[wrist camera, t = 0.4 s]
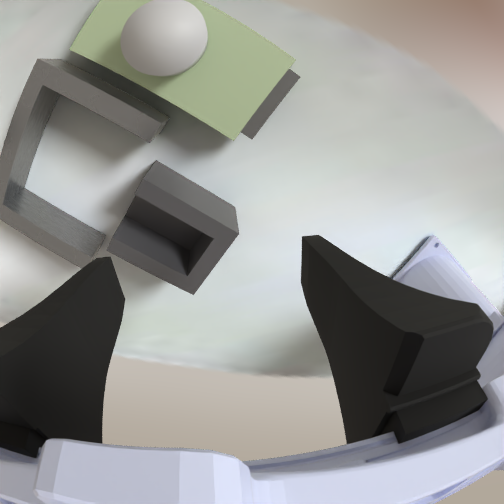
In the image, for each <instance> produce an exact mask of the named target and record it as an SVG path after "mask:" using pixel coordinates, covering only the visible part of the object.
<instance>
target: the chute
mask: <svg viewBox="0 0 504 504" xmlns="http://www.w3.org/2000/svg"><path fill="white" fill-rule="evenodd" d="M135 195H136V196H135V198H134V200H133V202H132V204H131V206H130V207H129V209H128V211H127V213H126V215H125V217H124V219H123V220H122V222H121V224H120V225H119V227H118V229H117V231H116V232H115V234H114V236H113V238H112V240H111V242H110V244H109V246H108V248H107V251H109V252H110V253H112V254H114V255H116V256H118V257H120V258H122V259H124V260H125V261H127V262H129V263H131V264H133V265H135V266H137V267H139V268H141V269H143V270H145V271H147V272H148V273H150V274H152V275H154V276H156V277H158V278H160V279H162V280H164V281H166V282H168V283H170V284H172V285H174V286H176V287H178V288H180V289H182V290H184V291H187V292H189V293H191V294H193V295H194V294H195V292H196V291H197V290H198V288H199V287H200V286H201V284H202V283H203V281H204V280H205V279H206V277H207V276H208V275H209V273H210V272H211V271H212V269H213V268H214V267H215V265H216V264H217V263H218V261H219V260H220V259H221V257H222V256H223V255H224V253H225V252H226V251H227V249H228V248H229V247H230V245H231V244H232V243H233V241H234V240H235V239H236V237H237V236H238V235H239V229H238V223H237V216H236V209H235V207H234V206H233V205H231V204H229V203H228V202H226V201H224V200H223V199H221V198H219V197H218V196H216V195H214V194H213V193H211V192H209V191H208V190H206V189H204V188H203V187H201V186H199V185H197V184H196V183H194V182H192V181H191V180H189V179H187V178H186V177H184V176H182V175H180V174H179V173H177V172H175V171H174V170H172V169H170V168H168V167H167V166H165V165H163V164H162V163H160V162H158V161H155V163H154V164H153V165H152V167H151V168H150V170H149V171H148V172H147V174H146V175H145V177H144V178H143V180H142V181H141V183H140V185H139V187H138V189H137V190H136V192H135Z"/></svg>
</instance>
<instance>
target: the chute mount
mask: <svg viewBox="0 0 504 504" xmlns="http://www.w3.org/2000/svg"><path fill="white" fill-rule="evenodd" d="M60 94H61V95H63V96H65V97H67V98H69V99H71V100H73V101H75V102H77V103H78V104H80V105H82V106H84V107H86V108H88V109H90V110H91V111H93V112H95V113H97V114H99V115H101V116H102V117H104V118H106V119H108V120H110V121H112V122H113V123H115V124H117V125H119V126H121V127H122V128H124V129H126V130H128V131H129V132H131V133H133V134H135V135H137V136H138V137H140V138H142V139H144V140H145V141H147V142H149V143H150V142H151V141H152V140H153V139H155V138H156V137H157V136H158V135H159V134H160V132H161V131H162V129H163V128H164V126H165V124H166V123H167V121H168V120H169V118H170V117H169V116H167V115H165V114H163V113H162V112H160V111H158V110H157V109H155V108H153V107H151V106H149V105H148V104H146V103H144V102H142V101H141V100H139V99H137V98H135V97H133V96H131V95H130V94H128V93H126V92H124V91H122V90H120V89H118V88H117V87H115V86H113V85H111V84H109V83H107V82H105V81H103V80H101V79H99V78H97V77H96V76H94V75H92V74H90V73H88V72H86V71H84V70H82V69H80V68H78V67H76V66H73V65H71V64H69V63H67V62H65V61H63V60H61V59H37V61H36V63H35V65H34V67H33V69H32V72H31V74H30V76H29V78H28V80H27V83H26V85H25V87H24V90H23V92H22V95H21V97H20V100H19V102H18V105H17V107H16V110H15V113H14V115H13V118H12V121H11V124H10V127H9V130H8V133H7V136H6V139H5V142H4V146H3V149H2V153H1V156H0V219H1V220H2V221H4V222H5V223H7V224H8V225H10V226H12V227H13V228H15V229H16V230H18V231H19V232H21V233H23V234H24V235H26V236H27V237H29V238H31V239H32V240H34V241H36V242H37V243H39V244H41V245H42V246H44V247H46V248H47V249H49V250H51V251H52V252H54V253H56V254H57V255H59V256H61V257H63V258H64V259H66V260H68V261H70V262H71V263H73V264H75V265H77V266H79V267H80V268H83V267H85V266H86V265H87V264H89V263H90V262H92V261H93V259H94V257H95V255H96V254H97V252H98V250H99V249H100V247H101V244H102V242H103V240H104V238H105V235H104V234H102V233H100V232H99V231H97V230H95V229H93V228H91V227H90V226H88V225H86V224H84V223H83V222H81V221H79V220H77V219H76V218H74V217H72V216H70V215H69V214H67V213H65V212H64V211H62V210H60V209H58V208H57V207H55V206H53V205H52V204H50V203H48V202H47V201H45V200H43V199H42V198H40V197H38V196H37V195H35V194H33V193H32V192H30V191H28V190H27V189H25V188H24V187H25V184H26V180H27V177H28V174H29V171H30V168H31V165H32V162H33V159H34V156H35V153H36V150H37V147H38V145H39V142H40V139H41V137H42V134H43V132H44V129H45V127H46V124H47V122H48V119H49V117H50V115H51V112H52V110H53V108H54V105H55V103H56V101H57V99H58V97H59V95H60Z"/></svg>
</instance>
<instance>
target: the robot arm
mask: <svg viewBox="0 0 504 504" xmlns="http://www.w3.org/2000/svg"><path fill="white" fill-rule="evenodd" d="M301 284H302V288H303V292H304V296H305V300H306V303H307V306H308V309H309V311H310V314H311V316H312V318H313V321H314V323H315V326H316V328H317V331H318V333H319V335H320V338H321V340H322V343H323V345H324V348H325V350H326V353H327V356H328V359H329V363H330V367H331V370H332V374H333V378H334V382H335V386H336V390H337V395H338V399H339V403H340V408H341V413H342V418H343V423H344V429H345V435H346V440H347V445H342V446H338V447H334V448H329V449H324V450H319V451H314V452H309V453H303V454H297V455H291V456H285V457H277V458H270V459H261V460H252V461H240V460H239V459H237V458H236V457H235V456H233V455H229V454H225V453H221V452H217V451H213V450H204V449H189V448H156V447H134V446H121V445H109V444H102V416H103V400H104V391H105V383H106V376H107V372H108V367H109V363H110V360H111V356H112V353H113V349H114V346H115V342H116V339H117V336H118V332H119V329H120V325H121V322H122V316H123V310H124V303H125V298H124V295H123V292H122V289H121V287H120V284H119V281H118V278H117V275H116V272H115V269H114V266H113V263H112V260H111V257H103V258H96V259H95V260H93V261H92V262H90V263H89V264H87V265H86V266H85V267H83V268H82V269H81V270H80V271H78V272H77V273H76V274H75V275H74V276H72V277H71V278H70V279H69V280H68V281H66V282H65V283H64V284H63V285H62V286H60V287H59V288H58V289H57V290H55V291H54V292H53V293H52V294H50V295H49V296H48V297H47V298H45V299H44V300H43V301H41V302H40V303H39V304H37V305H36V306H35V307H33V308H32V309H30V310H29V311H27V312H26V313H24V314H23V315H21V316H20V317H18V318H16V319H15V320H13V321H11V322H9V323H8V324H6V325H4V326H3V327H1V328H0V504H434V503H436V502H438V501H440V500H442V499H444V498H446V497H448V496H450V495H452V494H454V493H455V492H457V491H459V490H461V489H463V488H464V487H466V486H468V485H470V484H472V483H473V482H475V481H477V480H478V479H480V478H482V477H483V476H485V475H486V474H488V473H490V472H491V471H493V470H504V316H503V315H501V313H500V312H499V311H498V310H497V309H496V308H495V306H494V305H493V304H492V303H491V302H490V301H489V300H488V298H487V297H486V296H485V295H484V294H483V293H482V292H481V291H480V290H479V288H478V287H477V286H476V285H475V284H474V283H473V282H472V279H471V277H470V276H469V275H468V274H467V272H466V271H465V270H464V269H463V267H462V266H461V265H460V264H459V262H458V261H457V260H456V259H455V258H454V256H453V255H452V254H451V253H450V252H449V251H448V249H447V248H446V247H445V246H444V245H443V244H442V242H441V241H440V240H439V239H438V238H437V237H436V236H435V235H432V236H430V237H429V238H428V240H427V241H426V242H425V243H424V244H423V245H422V247H421V248H420V249H419V250H418V251H417V252H416V253H415V255H414V256H413V257H412V258H411V259H410V260H409V261H408V262H407V263H406V265H405V266H404V267H403V268H402V269H401V270H400V271H399V272H398V273H397V274H396V275H395V277H394V278H393V279H391V278H389V277H387V276H385V275H383V274H381V273H379V272H377V271H375V270H373V269H371V268H370V267H368V266H366V265H364V264H363V263H361V262H359V261H358V260H356V259H354V258H353V257H351V256H350V255H348V254H347V253H345V252H344V251H342V250H341V249H339V248H338V247H336V246H335V245H333V244H332V243H330V242H329V241H327V240H326V239H324V238H323V237H321V236H319V235H313V236H303V237H302V266H301Z"/></svg>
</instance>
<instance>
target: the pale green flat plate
mask: <svg viewBox="0 0 504 504" xmlns="http://www.w3.org/2000/svg"><path fill="white" fill-rule="evenodd" d="M69 50H71V51H73V52H75V53H78V54H80V55H82V56H84V57H86V58H88V59H90V60H92V61H94V62H96V63H98V64H100V65H102V66H104V67H106V68H108V69H110V70H112V71H114V72H116V73H118V74H120V75H122V76H124V77H125V78H127V79H129V80H131V81H133V82H135V83H137V84H139V85H140V86H142V87H144V88H146V89H148V90H149V91H151V92H153V93H155V94H157V95H158V96H160V97H162V98H164V99H165V100H167V101H169V102H171V103H172V104H174V105H176V106H178V107H179V108H181V109H183V110H184V111H186V112H188V113H189V114H191V115H193V116H194V117H196V118H198V119H199V120H201V121H203V122H204V123H206V124H207V125H209V126H211V127H212V128H214V129H216V130H217V131H219V132H220V133H222V134H223V135H225V136H227V137H228V138H230V139H231V140H233V141H234V140H235V139H236V137H237V136H238V134H239V133H240V132H241V133H243V134H245V135H246V136H248V137H249V138H251V139H253V138H254V136H255V135H256V134H257V132H258V131H259V130H260V128H261V127H262V126H263V124H264V123H265V122H266V120H267V119H268V118H269V116H270V115H271V114H272V113H273V111H274V110H275V109H276V107H277V106H278V105H279V103H280V102H281V101H282V100H283V98H284V97H285V96H286V95H287V93H288V92H289V91H290V89H291V88H292V87H293V86H294V84H295V83H296V82H297V81H298V79H299V78H300V76H298V75H297V74H296V73H294V72H293V71H292V70H290V69H289V68H290V67H291V65H292V64H293V63H294V62H295V61H296V60H295V59H294V58H293V57H291V56H290V55H289V54H287V53H286V52H284V51H283V50H282V49H280V48H279V47H277V46H276V45H274V44H273V43H272V42H270V41H269V40H267V39H266V38H264V37H263V36H261V35H260V34H258V33H257V32H255V31H253V30H252V29H250V28H249V27H247V26H246V25H244V24H242V23H241V22H239V21H237V20H236V19H234V18H232V17H231V16H229V15H227V14H226V13H224V12H222V11H220V10H219V9H217V8H215V7H213V6H211V5H209V4H208V3H206V2H204V1H202V0H100V2H99V3H98V5H97V6H96V7H95V9H94V10H93V12H92V13H91V15H90V16H89V18H88V19H87V21H86V23H85V24H84V26H83V27H82V29H81V31H80V32H79V34H78V35H77V37H76V39H75V41H74V42H73V44H72V46H71V47H70V49H69Z"/></svg>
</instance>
